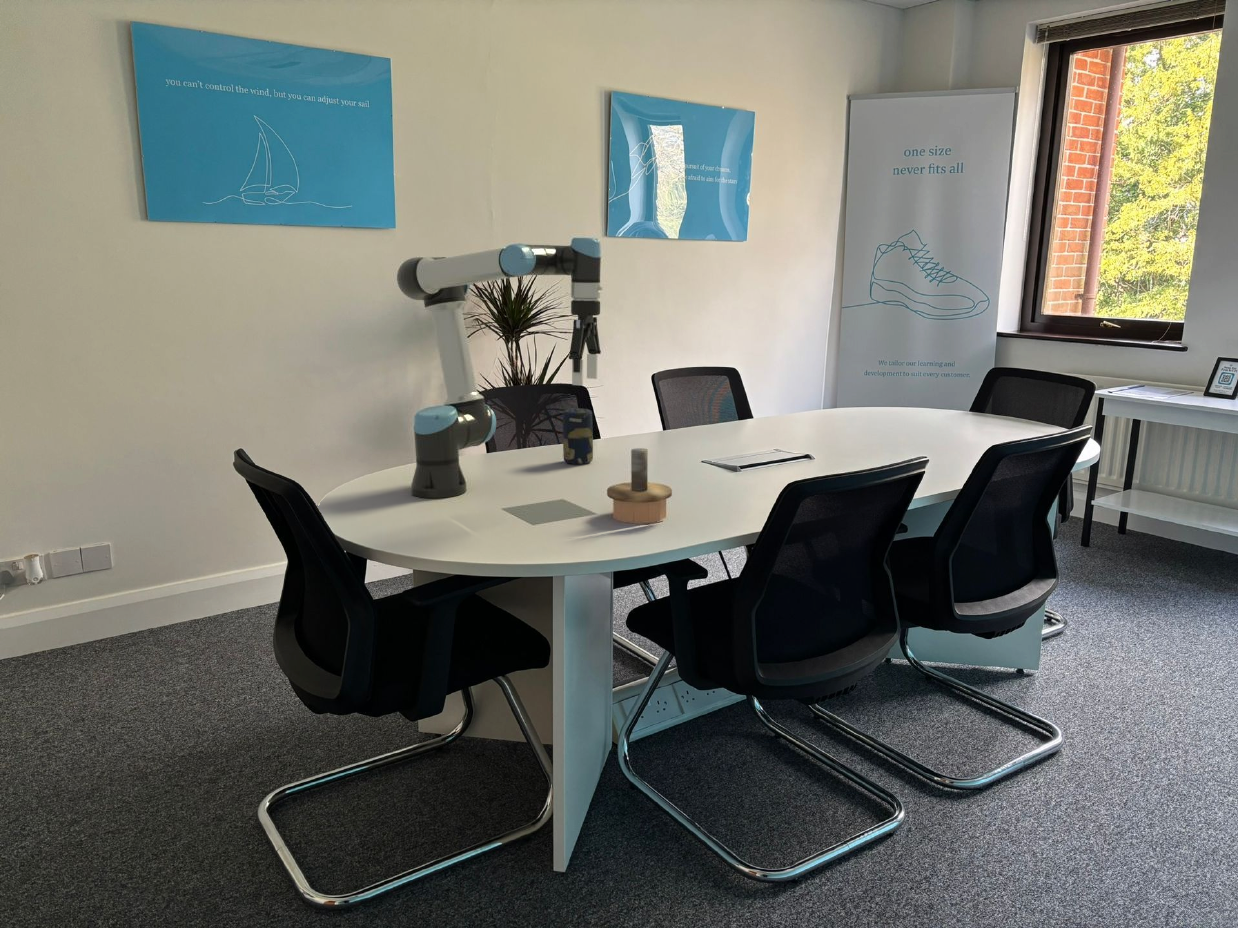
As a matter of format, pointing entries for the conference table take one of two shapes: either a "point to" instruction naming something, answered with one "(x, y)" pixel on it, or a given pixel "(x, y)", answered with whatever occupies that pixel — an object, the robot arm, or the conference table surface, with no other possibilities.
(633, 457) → the lid
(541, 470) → the conference table surface
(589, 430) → the canister
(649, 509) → the bowl
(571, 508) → the mat
